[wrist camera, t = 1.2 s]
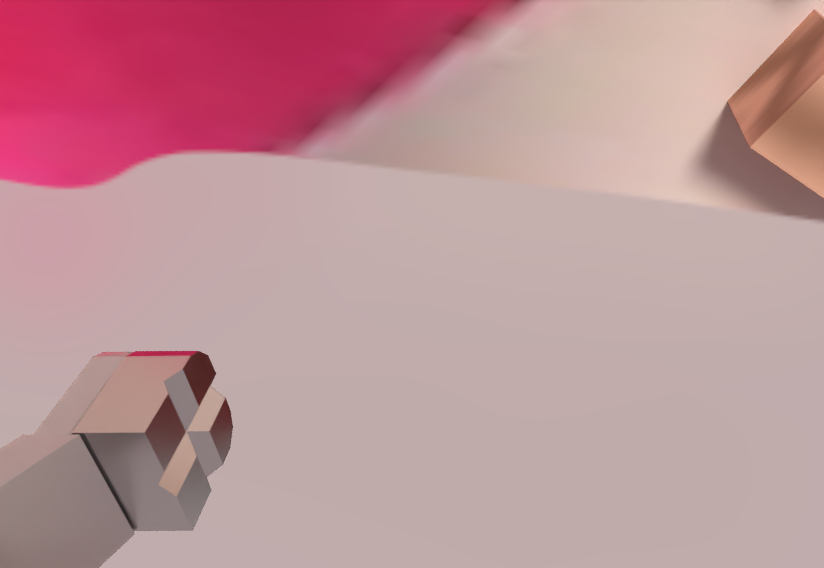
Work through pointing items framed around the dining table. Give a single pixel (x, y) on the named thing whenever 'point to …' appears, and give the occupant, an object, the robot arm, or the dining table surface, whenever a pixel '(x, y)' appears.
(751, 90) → the terracotta block
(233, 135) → the dining table surface
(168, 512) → the robot arm
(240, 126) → the dining table surface
